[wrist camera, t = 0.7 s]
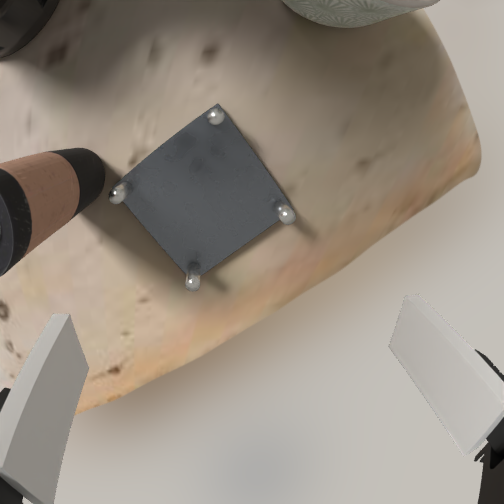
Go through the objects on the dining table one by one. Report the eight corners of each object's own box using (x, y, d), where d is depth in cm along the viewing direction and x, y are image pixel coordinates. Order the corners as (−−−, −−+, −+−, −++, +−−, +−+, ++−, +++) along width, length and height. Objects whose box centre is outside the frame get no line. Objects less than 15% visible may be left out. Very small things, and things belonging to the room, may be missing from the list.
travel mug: (107, 208, 34) (24, 287, 16) (54, 206, 33) (-45, 276, 14) (108, 145, 31) (10, 168, 13) (54, 146, 30) (-60, 175, 12)
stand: (115, 185, 33) (100, 195, 28) (217, 104, 31) (219, 99, 26) (192, 276, 39) (191, 298, 34) (290, 206, 37) (303, 219, 32)
